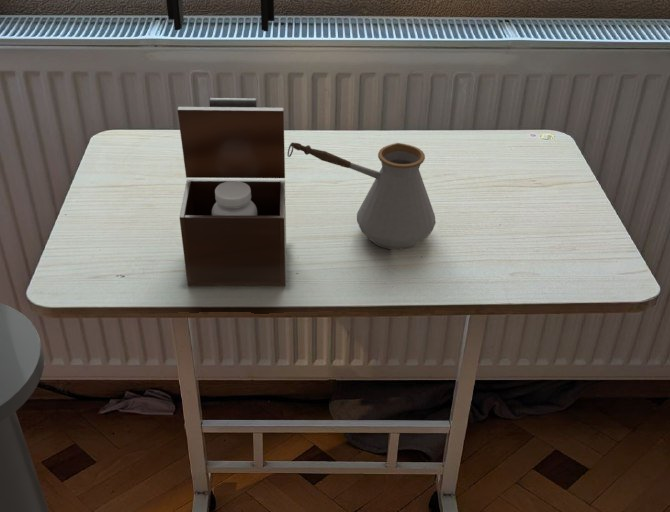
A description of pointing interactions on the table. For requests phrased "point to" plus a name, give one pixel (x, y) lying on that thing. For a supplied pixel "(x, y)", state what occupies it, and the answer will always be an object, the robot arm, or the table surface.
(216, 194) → the pill bottle
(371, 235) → the coffee pot
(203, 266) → the chest
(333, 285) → the table surface
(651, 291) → the table surface
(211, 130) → the lid
